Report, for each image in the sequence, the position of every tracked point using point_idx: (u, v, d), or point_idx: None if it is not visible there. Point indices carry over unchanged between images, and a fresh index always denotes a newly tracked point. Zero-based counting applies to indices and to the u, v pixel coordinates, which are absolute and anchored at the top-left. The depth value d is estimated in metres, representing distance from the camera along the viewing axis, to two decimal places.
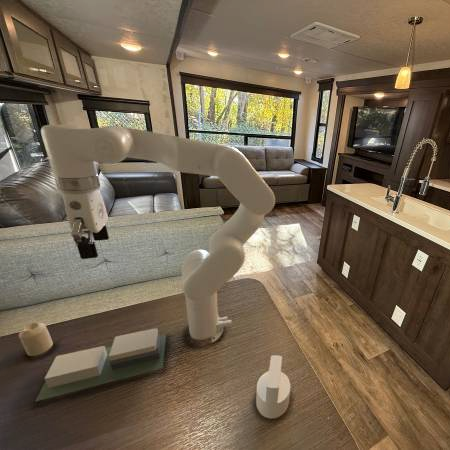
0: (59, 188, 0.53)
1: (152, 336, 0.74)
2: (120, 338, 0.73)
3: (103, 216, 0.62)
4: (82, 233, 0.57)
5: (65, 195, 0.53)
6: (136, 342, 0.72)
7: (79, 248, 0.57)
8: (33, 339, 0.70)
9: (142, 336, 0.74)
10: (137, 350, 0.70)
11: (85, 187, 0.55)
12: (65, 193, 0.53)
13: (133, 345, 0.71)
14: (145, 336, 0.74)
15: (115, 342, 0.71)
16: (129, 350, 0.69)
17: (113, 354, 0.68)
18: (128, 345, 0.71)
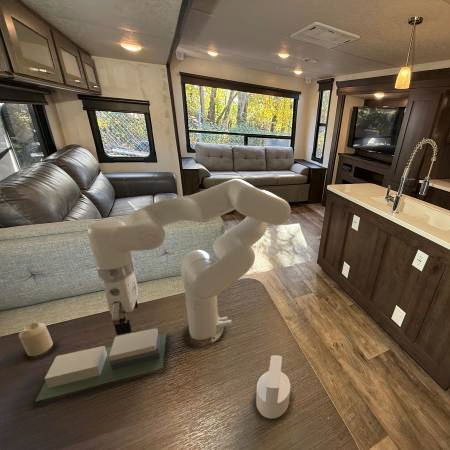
0: (100, 277, 0.59)
1: (152, 336, 0.74)
2: (120, 338, 0.73)
3: (135, 292, 0.68)
4: None
5: (106, 284, 0.59)
6: (136, 342, 0.72)
7: (116, 326, 0.63)
8: (33, 339, 0.70)
9: (142, 336, 0.74)
10: (137, 350, 0.70)
11: (123, 274, 0.61)
12: (106, 282, 0.59)
13: (133, 345, 0.71)
14: (145, 336, 0.74)
15: (115, 342, 0.71)
16: (129, 350, 0.69)
17: (113, 354, 0.68)
18: (128, 345, 0.71)
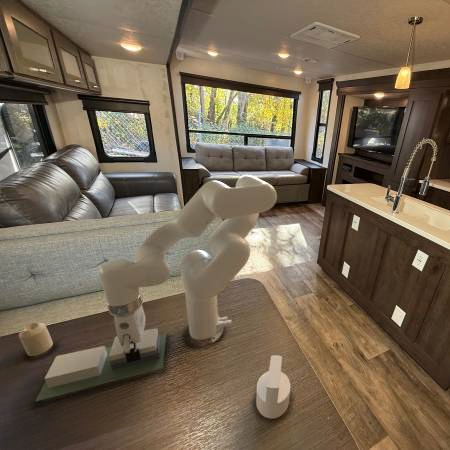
0: (111, 312, 0.64)
1: (152, 336, 0.74)
2: None
3: (143, 322, 0.72)
4: None
5: (116, 319, 0.63)
6: None
7: (126, 355, 0.68)
8: (33, 339, 0.70)
9: (142, 336, 0.74)
10: None
11: (132, 309, 0.65)
12: (116, 317, 0.63)
13: (133, 345, 0.71)
14: (145, 336, 0.74)
15: (115, 342, 0.71)
16: None
17: (113, 354, 0.68)
18: None
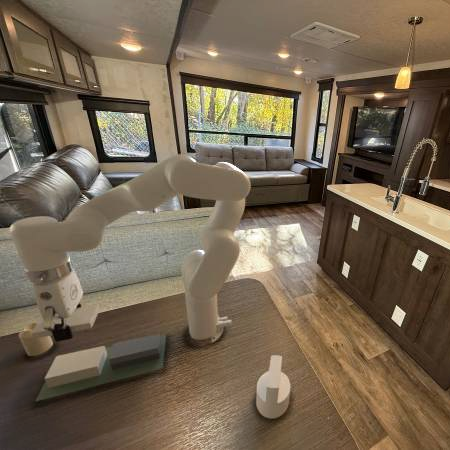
0: (29, 279, 0.54)
1: (90, 313, 0.64)
2: None
3: (77, 295, 0.62)
4: None
5: (35, 287, 0.53)
6: (68, 319, 0.62)
7: (53, 332, 0.59)
8: (33, 339, 0.70)
9: (78, 312, 0.64)
10: None
11: (56, 276, 0.55)
12: (35, 285, 0.54)
13: None
14: (81, 312, 0.64)
15: None
16: None
17: (37, 331, 0.58)
18: (58, 322, 0.61)
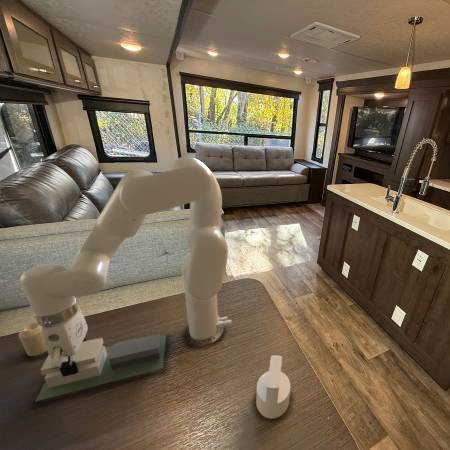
0: (38, 323, 0.58)
1: (94, 347, 0.68)
2: None
3: (82, 332, 0.66)
4: (62, 356, 0.62)
5: (44, 330, 0.58)
6: None
7: (61, 369, 0.63)
8: (33, 339, 0.70)
9: (83, 347, 0.68)
10: None
11: (63, 319, 0.59)
12: (44, 328, 0.58)
13: None
14: (86, 347, 0.68)
15: None
16: None
17: (46, 368, 0.62)
18: (65, 357, 0.65)
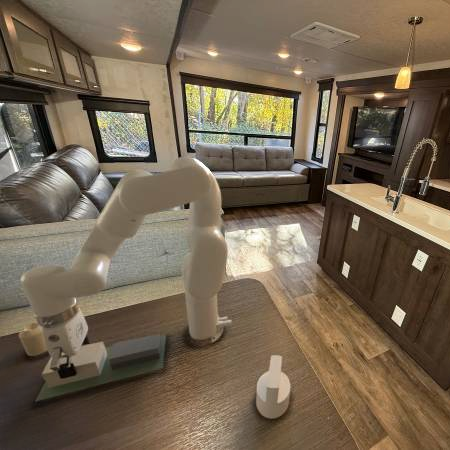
0: (39, 323, 0.58)
1: (95, 351, 0.69)
2: None
3: (82, 333, 0.66)
4: None
5: (44, 331, 0.58)
6: (75, 358, 0.67)
7: (59, 371, 0.62)
8: (33, 339, 0.70)
9: (84, 350, 0.69)
10: (75, 367, 0.65)
11: (63, 320, 0.59)
12: (44, 328, 0.58)
13: (71, 361, 0.66)
14: (87, 351, 0.69)
15: None
16: None
17: (47, 372, 0.63)
18: None
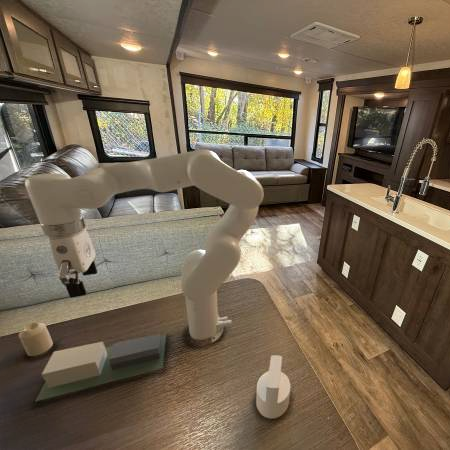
0: (45, 234, 0.56)
1: (95, 351, 0.69)
2: (59, 353, 0.67)
3: (90, 254, 0.64)
4: (70, 274, 0.60)
5: (51, 241, 0.56)
6: (75, 358, 0.67)
7: (68, 288, 0.60)
8: (33, 339, 0.70)
9: (84, 350, 0.69)
10: (75, 367, 0.65)
11: (70, 231, 0.57)
12: (51, 239, 0.56)
13: (71, 361, 0.66)
14: (87, 351, 0.69)
15: (52, 358, 0.66)
16: (65, 367, 0.64)
17: (47, 372, 0.63)
18: (66, 361, 0.66)
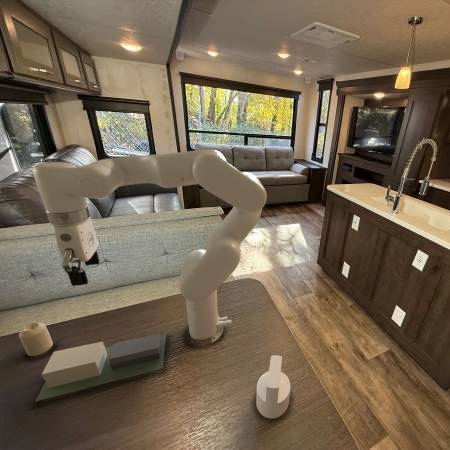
0: (50, 221, 0.57)
1: (95, 351, 0.69)
2: (59, 353, 0.67)
3: (93, 244, 0.65)
4: (73, 262, 0.60)
5: (56, 228, 0.57)
6: (75, 358, 0.67)
7: (70, 276, 0.61)
8: (33, 339, 0.70)
9: (84, 350, 0.69)
10: (75, 367, 0.65)
11: (75, 220, 0.58)
12: (56, 226, 0.57)
13: (71, 361, 0.66)
14: (87, 351, 0.69)
15: (52, 358, 0.66)
16: (65, 367, 0.64)
17: (47, 372, 0.63)
18: (66, 361, 0.66)
